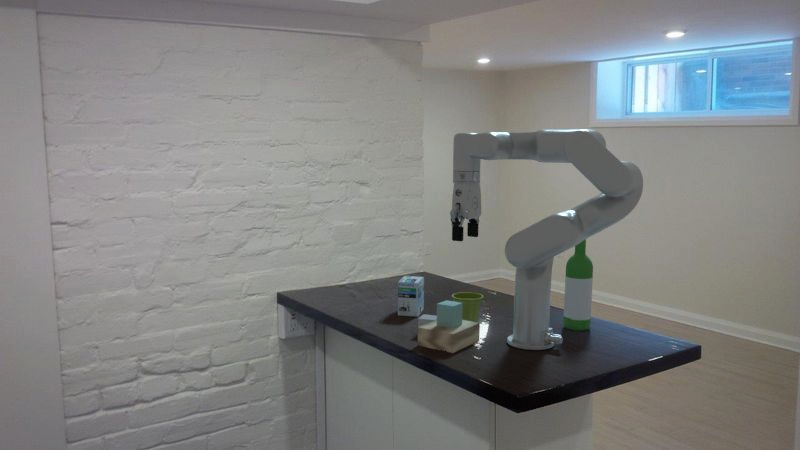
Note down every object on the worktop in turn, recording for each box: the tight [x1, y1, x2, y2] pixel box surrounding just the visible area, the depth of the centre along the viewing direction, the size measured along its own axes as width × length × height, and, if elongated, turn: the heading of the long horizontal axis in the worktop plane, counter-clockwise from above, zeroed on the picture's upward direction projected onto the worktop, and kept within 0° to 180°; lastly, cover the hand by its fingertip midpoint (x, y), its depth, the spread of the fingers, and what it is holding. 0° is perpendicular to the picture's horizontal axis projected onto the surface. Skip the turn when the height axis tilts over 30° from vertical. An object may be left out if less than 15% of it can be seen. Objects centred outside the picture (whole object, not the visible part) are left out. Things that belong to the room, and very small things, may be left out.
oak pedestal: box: [417, 320, 481, 354], centre depth 191 cm, size 11×14×5 cm
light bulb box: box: [397, 275, 425, 318], centre depth 223 cm, size 11×7×11 cm, turn 168°
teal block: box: [436, 299, 463, 329], centre depth 191 cm, size 5×5×6 cm
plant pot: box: [451, 291, 484, 323], centre depth 211 cm, size 9×9×9 cm
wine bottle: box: [562, 239, 594, 332], centre depth 206 cm, size 8×8×30 cm
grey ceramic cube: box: [417, 313, 437, 328], centre depth 200 cm, size 5×5×5 cm
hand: (465, 238), depth 198 cm, fingers open, 9 cm apart
